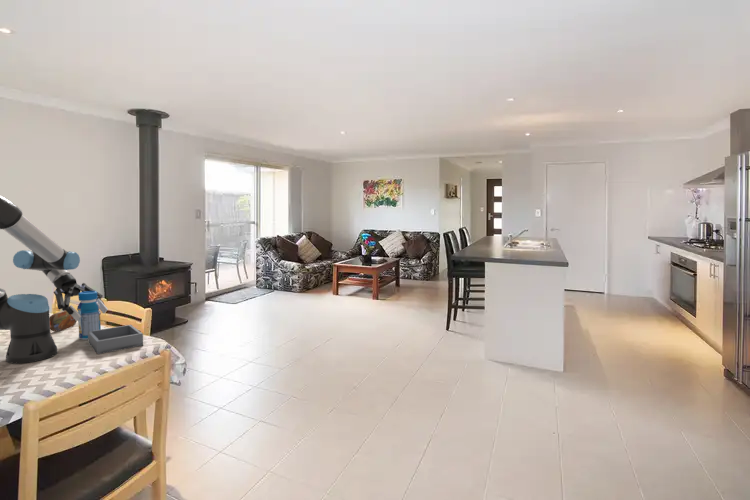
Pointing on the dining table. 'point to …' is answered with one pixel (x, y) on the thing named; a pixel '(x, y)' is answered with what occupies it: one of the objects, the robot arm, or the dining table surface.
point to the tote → (115, 339)
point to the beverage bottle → (88, 313)
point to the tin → (61, 321)
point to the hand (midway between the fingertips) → (92, 314)
